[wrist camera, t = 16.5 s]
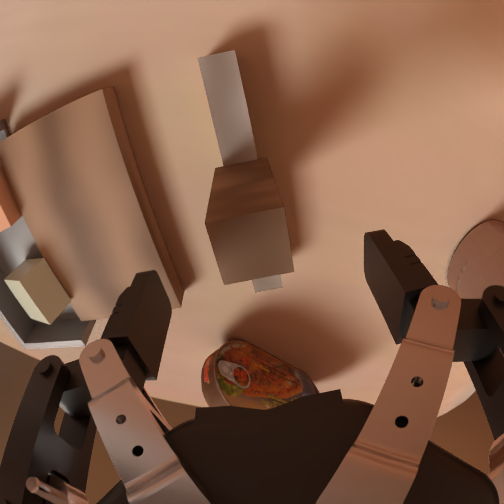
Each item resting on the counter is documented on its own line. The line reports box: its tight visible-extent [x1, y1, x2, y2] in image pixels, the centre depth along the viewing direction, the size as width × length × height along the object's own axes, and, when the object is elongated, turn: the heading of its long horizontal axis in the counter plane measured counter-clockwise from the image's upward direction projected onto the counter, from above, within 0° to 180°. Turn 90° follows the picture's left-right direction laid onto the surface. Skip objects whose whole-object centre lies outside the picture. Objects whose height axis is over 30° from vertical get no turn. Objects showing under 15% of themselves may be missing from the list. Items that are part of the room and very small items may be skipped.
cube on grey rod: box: [198, 50, 294, 293], centre depth 17 cm, size 3×16×10 cm, turn 11°
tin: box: [201, 340, 319, 410], centre depth 28 cm, size 15×3×8 cm, turn 47°
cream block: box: [4, 258, 71, 325], centre depth 22 cm, size 4×4×3 cm
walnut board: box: [0, 87, 184, 321], centre depth 21 cm, size 10×17×2 cm, turn 11°
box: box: [0, 119, 96, 349], centre depth 21 cm, size 9×20×4 cm, turn 11°
